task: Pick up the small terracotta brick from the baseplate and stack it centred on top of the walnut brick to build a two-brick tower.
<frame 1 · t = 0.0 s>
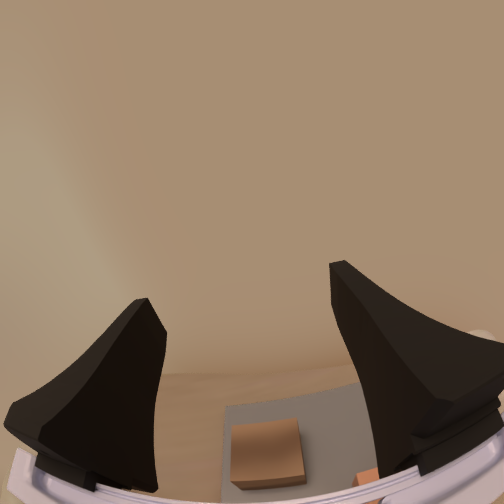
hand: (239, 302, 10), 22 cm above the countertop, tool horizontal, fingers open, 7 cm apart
base brick: (272, 462, 20), point 1 cm above the countertop, touching baseplate
baseplate: (315, 467, 19), on the countertop
top brick: (377, 494, 14), point 1 cm above the countertop, touching baseplate
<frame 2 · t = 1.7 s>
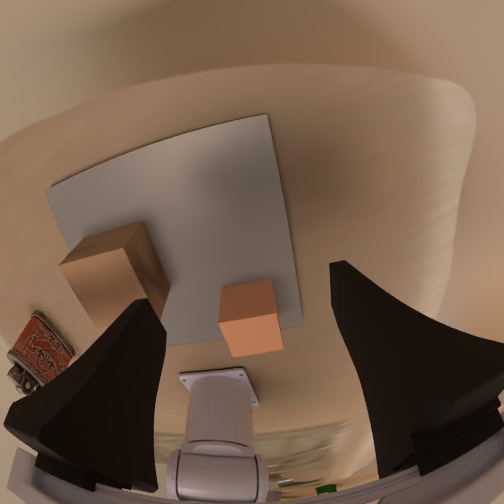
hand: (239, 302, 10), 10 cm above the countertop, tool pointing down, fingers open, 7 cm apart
milk carton: (325, 485, 87), on the countertop
base brick: (125, 262, 20), point 1 cm above the countertop, touching baseplate
coffeepot: (268, 492, 85), on the countertop
baseplate: (176, 257, 21), on the countertop
lighter: (54, 333, 27), on the countertop
top brick: (251, 301, 22), point 1 cm above the countertop, touching baseplate
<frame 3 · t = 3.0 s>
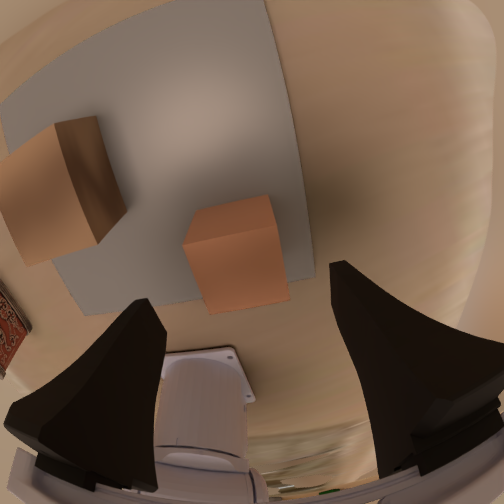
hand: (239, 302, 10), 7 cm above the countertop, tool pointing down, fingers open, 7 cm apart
milk carton: (329, 490, 79), on the countertop
base brick: (72, 180, 13), point 1 cm above the countertop, touching baseplate
coffeepot: (268, 498, 78), on the countertop
baseplate: (136, 170, 14), on the countertop
lighter: (10, 301, 20), on the countertop
top brick: (239, 234, 16), point 1 cm above the countertop, touching baseplate
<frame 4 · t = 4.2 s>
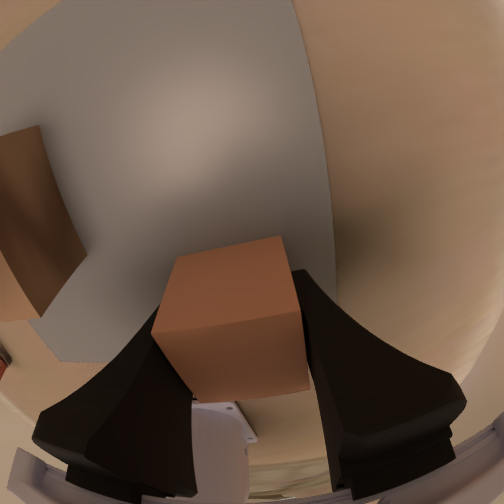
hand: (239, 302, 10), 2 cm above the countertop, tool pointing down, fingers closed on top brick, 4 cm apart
base brick: (20, 212, 9), point 1 cm above the countertop, touching baseplate
baseplate: (96, 197, 10), on the countertop
top brick: (239, 288, 11), point 1 cm above the countertop, touching baseplate, gripper
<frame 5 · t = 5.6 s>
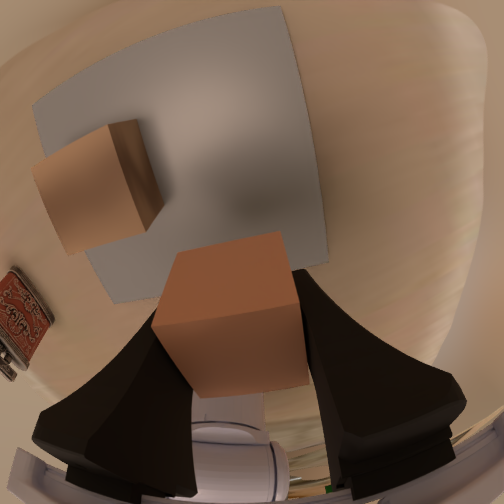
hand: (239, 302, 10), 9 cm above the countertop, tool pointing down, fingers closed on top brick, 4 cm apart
milk carton: (335, 484, 82), on the countertop
base brick: (111, 177, 16), point 1 cm above the countertop, touching baseplate
baseplate: (172, 168, 17), on the countertop
lighter: (32, 294, 22), on the countertop
top brick: (239, 283, 11), point 8 cm above the countertop, touching gripper
when the fingers open (7 cm above the countertop, at t = 7.0 s): top brick stays where it is, resting on base brick.
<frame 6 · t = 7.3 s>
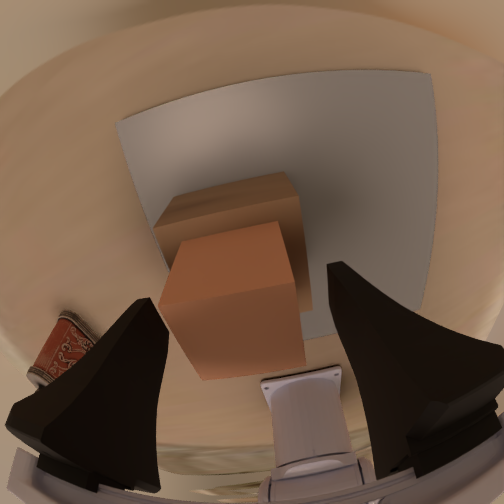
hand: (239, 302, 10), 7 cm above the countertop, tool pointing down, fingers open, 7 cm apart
base brick: (240, 233, 15), point 1 cm above the countertop, touching baseplate, top brick
baseplate: (308, 227, 16), on the countertop
lighter: (89, 339, 22), on the countertop
top brick: (240, 271, 12), point 5 cm above the countertop, touching base brick
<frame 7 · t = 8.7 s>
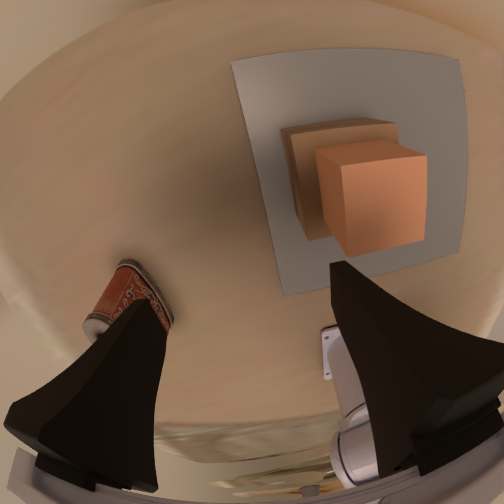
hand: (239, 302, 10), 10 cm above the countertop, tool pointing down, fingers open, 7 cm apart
base brick: (332, 165, 17), point 1 cm above the countertop, touching baseplate, top brick
coffeepot: (307, 486, 82), on the countertop
baseplate: (378, 168, 18), on the countertop
lighter: (146, 294, 23), on the countertop
top brick: (354, 179, 13), point 5 cm above the countertop, touching base brick
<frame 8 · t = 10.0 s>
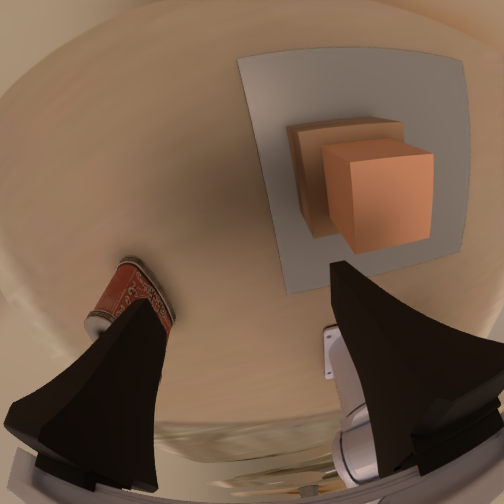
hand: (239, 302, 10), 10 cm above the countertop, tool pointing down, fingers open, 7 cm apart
base brick: (337, 163, 17), point 1 cm above the countertop, touching baseplate, top brick
coffeepot: (305, 486, 82), on the countertop
baseplate: (382, 167, 18), on the countertop
lighter: (148, 291, 23), on the countertop
top brick: (360, 177, 13), point 5 cm above the countertop, touching base brick
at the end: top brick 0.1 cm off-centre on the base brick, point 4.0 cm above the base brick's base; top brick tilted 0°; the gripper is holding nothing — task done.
